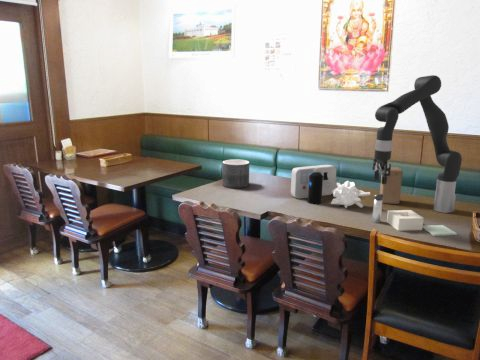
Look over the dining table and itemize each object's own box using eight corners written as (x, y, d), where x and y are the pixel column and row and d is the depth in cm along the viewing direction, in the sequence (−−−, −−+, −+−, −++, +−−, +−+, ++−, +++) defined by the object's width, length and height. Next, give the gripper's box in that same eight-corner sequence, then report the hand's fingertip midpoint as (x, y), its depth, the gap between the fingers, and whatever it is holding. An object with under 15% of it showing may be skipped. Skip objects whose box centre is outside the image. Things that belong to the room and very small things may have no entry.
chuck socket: (409, 221, 203) (410, 209, 202) (422, 229, 192) (423, 218, 190) (386, 221, 202) (387, 210, 200) (398, 230, 190) (399, 218, 189)
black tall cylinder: (323, 201, 235) (325, 167, 230) (319, 205, 228) (321, 170, 223) (309, 199, 238) (311, 166, 233) (305, 203, 231) (307, 169, 226)
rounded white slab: (296, 200, 237) (298, 170, 233) (290, 196, 244) (291, 167, 239) (337, 195, 248) (339, 166, 243) (329, 192, 255) (331, 164, 250)
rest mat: (442, 226, 196) (442, 225, 196) (456, 235, 186) (456, 233, 185) (421, 227, 195) (421, 225, 195) (434, 235, 184) (434, 234, 184)
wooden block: (399, 204, 230) (403, 170, 225) (381, 203, 232) (384, 169, 227) (396, 199, 239) (400, 166, 234) (378, 198, 241) (382, 166, 236)
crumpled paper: (340, 190, 212) (339, 168, 221) (326, 207, 225) (326, 187, 234) (375, 199, 214) (372, 177, 224) (359, 216, 228) (357, 195, 237)
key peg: (378, 219, 205) (381, 193, 201) (382, 222, 201) (385, 196, 197) (370, 220, 204) (372, 193, 201) (373, 223, 200) (376, 196, 197)
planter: (249, 188, 261) (249, 165, 257) (221, 188, 261) (221, 164, 257) (248, 181, 278) (249, 159, 274) (223, 181, 278) (223, 159, 274)
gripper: (397, 151, 187) (394, 185, 191) (384, 146, 201) (380, 178, 205) (382, 151, 186) (378, 185, 190) (369, 146, 200) (366, 178, 204)
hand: (379, 181), depth 197 cm, fingers open, 8 cm apart
